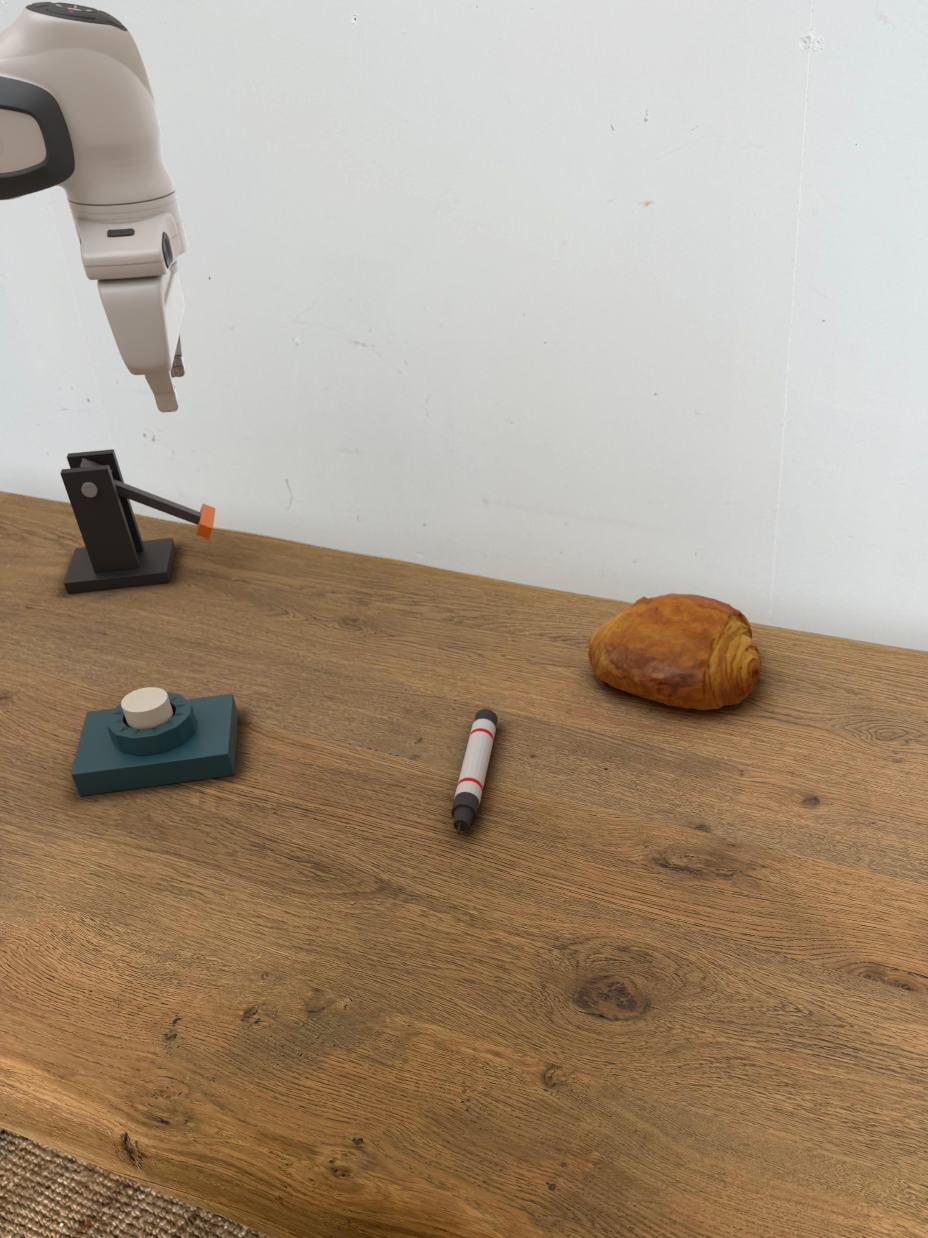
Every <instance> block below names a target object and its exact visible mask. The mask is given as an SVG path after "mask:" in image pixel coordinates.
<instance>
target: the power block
mask: <svg viewBox="0 0 928 1238" xmlns="http://www.w3.org/2000/svg"><path fill="white" fill-rule="evenodd" d="M166 692H167V694H168V698H169V701H170V704H171V707H172V710H173V716H172V718H171V719H170V720H169V721H168V722H165V723H163V724H161V725H158V726H156V727H153V728H146V729H135V728H132V727H130V726H129V725H128V723H127V721H126V718H125V715H124V712H123V709H122V707H121V702H120V703H119V704H117V706H115V707H114V708H105V709H99V710H90V711H89V710H88V711H86V713H85V717H84V721H83V725H82V729H81V734H80V736H79V737H80V738H79V741H78V745H77V748H76V749H77V750H76V754H75V758H74V761H73V766H72V770H71V774H70V776H71V778H72V780H73V782H74V785H75V787H76V790H77V793H78V795H79V797H82V796H83V797H84V796H89V795H91V796H92V795H97V794H98V795H99V794H104V793H105V794H106V793H112V792H113V793H114V792H120V791H127V790H135V789H143V788H148V787H156V786H163V785H164V786H166V785H172V784H178V783H186V782H194V781H202V780H210V779H216V778H217V779H218V778H225V777H231V776H235V769H236V757H237V756H236V755H237V742H238V727H239V717H240V716H239V715H240V714H239V711H238V707H237V704H236V699H235V697H234V694H233V693H225V694H217V695H210V696H202V697H194V698H186V697H185V696H184V695H183V694H181V693H175V692H169V691H166Z"/></svg>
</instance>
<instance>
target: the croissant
mask: <svg viewBox="0 0 928 1238" xmlns="http://www.w3.org/2000/svg"><path fill="white" fill-rule="evenodd" d="M751 628H752V626H751V623H750V621H749V619H748V618H747V617H746V615H745V614H743V613H742V612H741V610H739V609H738V608H735V607H734V606H732V605H731V604H730V603H726V602H723V601H722V600H719V599H716V598H713V597H707V596H704V595H699V594H693V593H673V592H672V593H671V592H670V593H667V594H662V595H657V596H653V597H649V598H648V597H646V596H642V597H640V598H639V599H637V600H636V601H634V603H633V604H632V605H630V606H629V607H628V608H627V609H625V610H624V611H622V612H620V613H618V614H616V615H615V616H614V617H613V618H611V619H608V620H607V621H606V622H605V623H603V624H602V625H600V626H599V627H598V628H597V629H596V630H595V631H594V632H593V633H592V635H590V637H589V638H588V652H587V656H588V659H589V664H590V666H591V667H592V670H593V673H595V676H597V678H598V680H599V681H602V682H604V683H606V684H608V685H609V686H611V687H612V688H614V689H618V690H620V691H624V692H626V693H629V694H632V695H634V696H637V697H640V698H642V699H643V698H644V699H646V700H651V701H654V702H657V703H661V704H664V705H666V706H671V707H676V708H683V709H687V710H688V709H693V710H696V711H697V710H698V711H707V710H718V709H721V708H722V707H726V706H733V705H738V704H740V703H741V702H742V701H743V700H745V699H746V698H747V697H748V696H749V695H750V694H751V693H752V692H753V691H754V689H755V687H756V685H757V682H758V680H759V677H760V675H761V672H762V661H761V658H760V657H761V656H760V655H759V653H760V652H759V648H758V646H757V645H756V643H755V641H754V640H753V630H752V629H751Z"/></svg>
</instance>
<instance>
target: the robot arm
mask: <svg viewBox="0 0 928 1238" xmlns="http://www.w3.org/2000/svg"><path fill="white" fill-rule="evenodd" d="M141 55H142V54H141V52H140V50H139V47H138V46H137V44H136V41H135V39H134V37H133V35H132V34H131V32H130V30H128V28H127V27H126V26H125V25H123V23H122V22H121V21H120V20H118V19H117V18H116V17H115V16H113V15H111V14H110V13H108V12H106V11H104V10H100V9H98V8H95V7H92V6H91V7H90V6H87V5H86V6H85V5H81V4H76V3H75V4H74V3H68V2H60V1H59V2H51V1H37V2H32V3H31V4H27V5H26V6H25V7H24V8H23V10H22V11H21V13H20V15H19V16H18V17H17V18H16V19H15V20H14V21H13V22H12V23H11V24H10V25H8V26H7V28H5V29H4V30H3V31H1V32H0V201H12V200H16V199H20V198H22V197H26V196H27V195H30V194H34V193H38V192H40V191H41V192H42V191H45V190H48V189H50V188H53V187H61V188H62V189H63V191H64V192H65V195H66V200H67V202H68V203H67V204H68V206H69V209H70V213H71V216H72V220H73V223H74V226H75V231H76V234H77V238H78V241H79V245H80V257H81V258H80V259H81V263H82V266H83V269H84V273H85V275H86V278H87V279H88V280H90V281H96V285H97V286H96V287H97V290H98V294H99V298H100V301H101V304H102V308H103V310H104V313H105V316H106V319H107V320H108V324H109V326H110V331H111V332H112V335H113V338H114V342H115V343H116V346H117V348H118V349H117V350H118V352H119V354H120V357H121V359H122V360H123V363H124V365H125V367H126V369H127V370H128V371H129V373H130V374H131V375H133V376H144V377H145V380H146V382H147V384H148V386H149V388H150V390H151V392H152V394H153V397H154V400H155V403H156V407H157V410H158V411H159V412H160V413H162V414H163V413H175V412H177V411H178V410H179V406H180V399H179V396H178V393H177V389H176V386H175V384H174V381H173V378H182V377H184V376H185V373H186V371H187V366H186V362H185V357H184V354H183V344H182V337H181V336H182V335H181V329H182V324H183V321H184V315H185V311H186V300H185V295H184V290H183V287H182V282H181V278H180V275H179V270H180V265H179V262H178V259H177V258H178V257H179V256H180V255H183V254H184V253H186V252H187V251H188V249H189V241H188V238H187V232H186V228H185V225H184V220H183V215H182V211H181V207H180V204H179V198H178V194H177V190H176V186H175V183H174V180H173V178H172V176H171V174H170V172H169V170H168V168H167V165H166V163H165V160H164V154H163V147H162V146H163V145H162V143H163V131H162V125H161V121H160V117H159V112H158V108H157V105H156V101H155V98H154V93H153V90H152V86H151V83H150V80H149V77H148V74H147V71H146V67H145V64H144V62H143V58H142V56H141Z"/></svg>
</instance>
